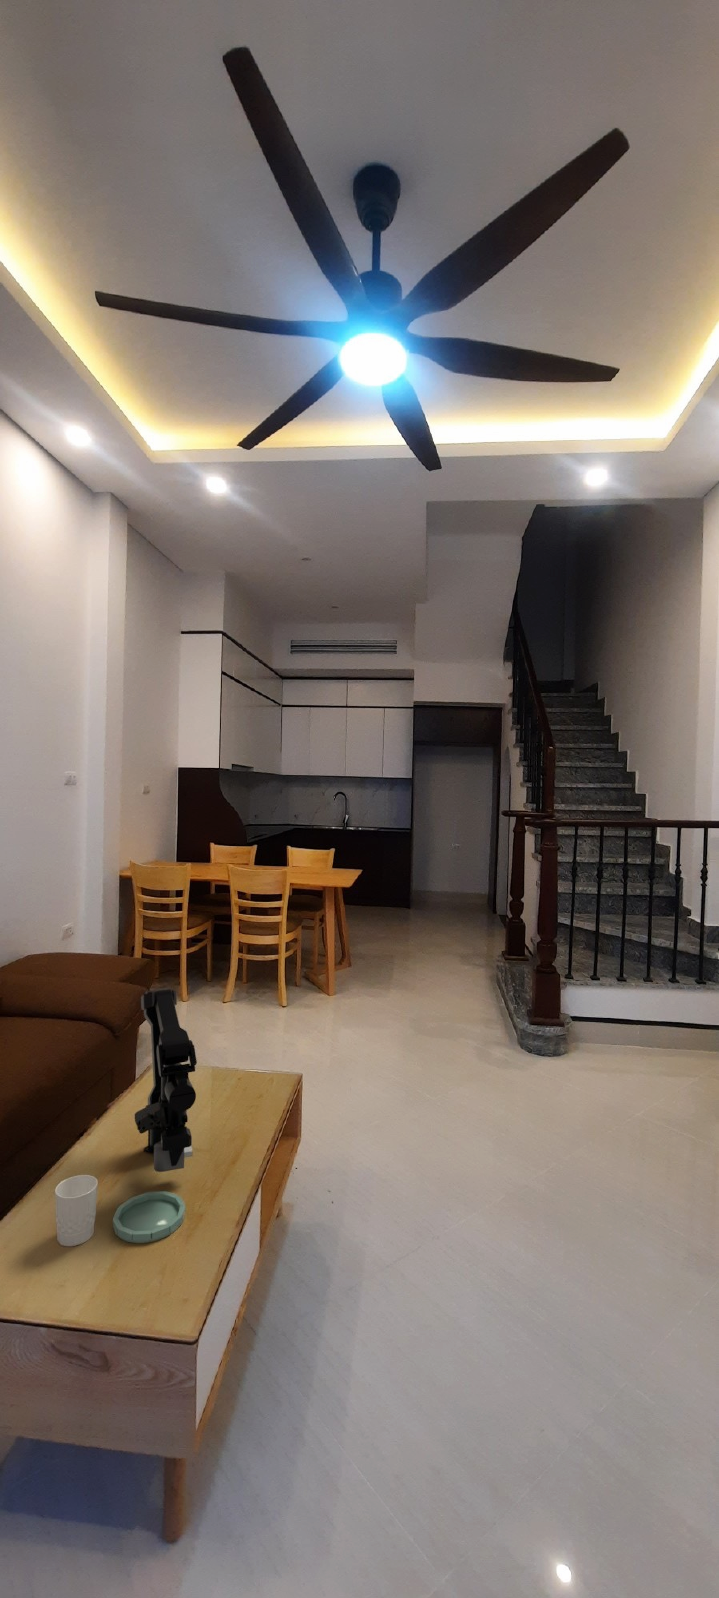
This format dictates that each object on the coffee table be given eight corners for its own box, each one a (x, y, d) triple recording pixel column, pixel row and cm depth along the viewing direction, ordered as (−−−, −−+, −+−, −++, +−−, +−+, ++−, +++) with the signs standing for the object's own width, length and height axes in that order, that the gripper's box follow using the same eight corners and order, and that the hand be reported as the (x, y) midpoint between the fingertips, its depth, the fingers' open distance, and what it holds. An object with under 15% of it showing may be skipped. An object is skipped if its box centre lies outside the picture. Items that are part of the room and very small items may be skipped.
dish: (98, 1230, 132) (98, 1222, 132) (147, 1193, 145) (147, 1185, 145) (152, 1251, 126) (152, 1242, 126) (198, 1210, 139) (198, 1202, 139)
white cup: (105, 1228, 133) (106, 1179, 133) (77, 1253, 126) (77, 1201, 126) (74, 1219, 136) (75, 1171, 136) (45, 1243, 128) (45, 1193, 128)
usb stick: (154, 1173, 146) (154, 1151, 146) (153, 1164, 150) (153, 1142, 150) (193, 1166, 149) (193, 1144, 149) (191, 1157, 153) (191, 1136, 153)
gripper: (135, 1080, 155) (135, 1146, 155) (138, 1116, 138) (137, 1190, 138) (183, 1074, 159) (183, 1138, 159) (192, 1108, 142) (191, 1180, 142)
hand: (173, 1160), depth 149 cm, fingers closed on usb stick, 4 cm apart
